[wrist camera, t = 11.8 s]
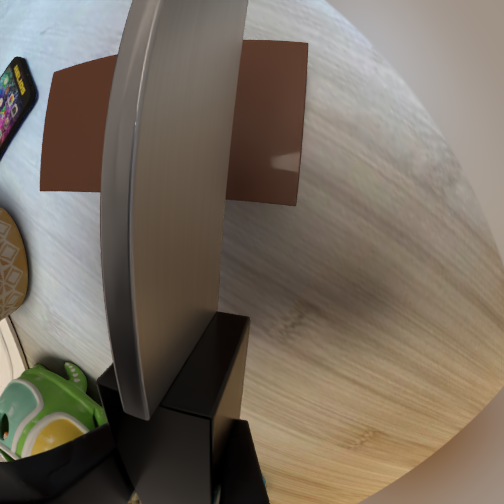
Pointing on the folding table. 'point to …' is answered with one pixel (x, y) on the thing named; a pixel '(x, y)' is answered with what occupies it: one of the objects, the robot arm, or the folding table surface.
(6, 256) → the planter
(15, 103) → the smartphone
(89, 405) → the turtle holder
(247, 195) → the brown block
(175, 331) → the knife
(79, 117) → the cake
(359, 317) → the folding table surface
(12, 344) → the plate
